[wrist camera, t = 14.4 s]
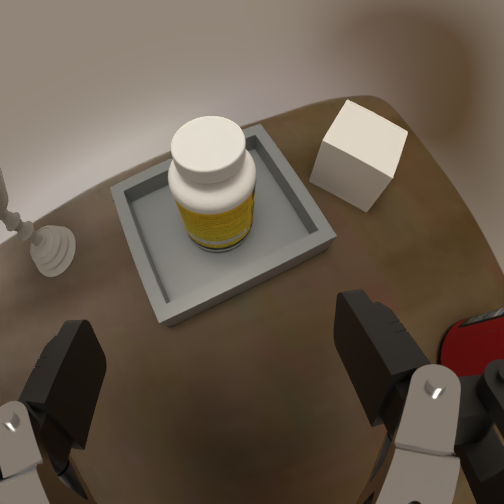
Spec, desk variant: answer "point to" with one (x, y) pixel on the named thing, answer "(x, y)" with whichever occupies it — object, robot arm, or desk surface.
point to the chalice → (40, 239)
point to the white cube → (358, 156)
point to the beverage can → (474, 343)
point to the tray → (226, 262)
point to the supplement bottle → (213, 182)
